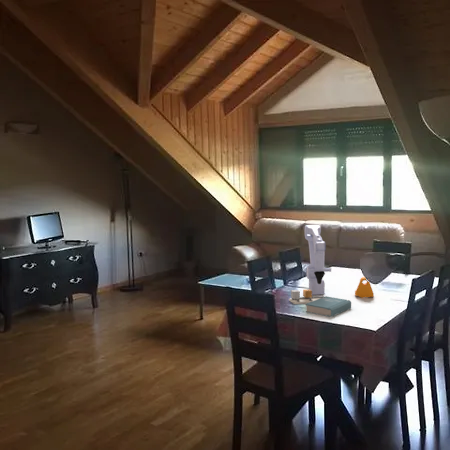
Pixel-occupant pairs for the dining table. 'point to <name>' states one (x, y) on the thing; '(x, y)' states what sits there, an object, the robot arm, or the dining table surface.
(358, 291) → the bracket
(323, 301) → the book
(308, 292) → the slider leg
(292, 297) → the pitch plate
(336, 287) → the dining table surface
